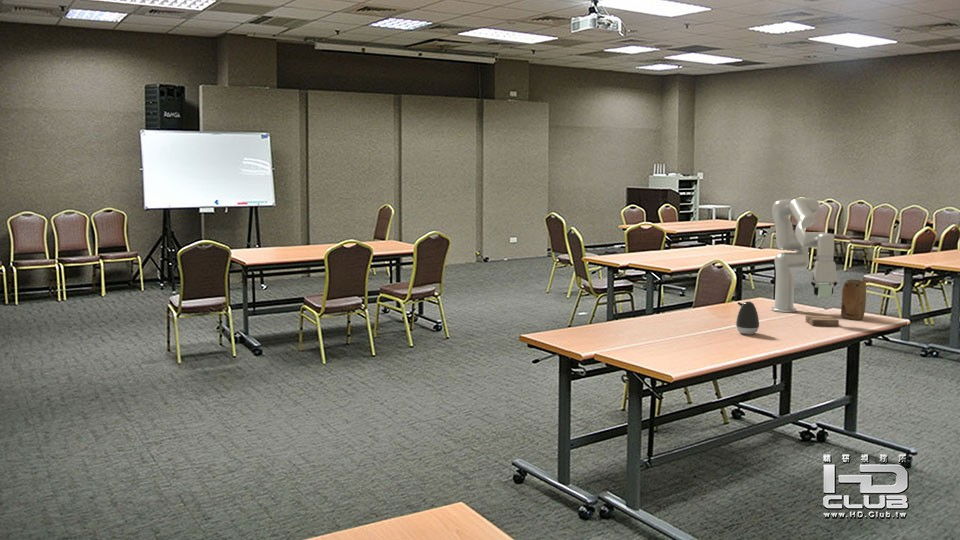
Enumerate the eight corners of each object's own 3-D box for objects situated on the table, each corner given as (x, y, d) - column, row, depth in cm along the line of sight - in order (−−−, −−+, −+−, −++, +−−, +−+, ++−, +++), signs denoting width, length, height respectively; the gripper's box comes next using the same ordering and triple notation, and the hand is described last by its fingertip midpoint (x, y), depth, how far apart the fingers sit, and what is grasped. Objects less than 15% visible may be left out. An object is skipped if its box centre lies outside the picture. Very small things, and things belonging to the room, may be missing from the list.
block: (866, 319, 406) (868, 280, 404) (859, 321, 401) (862, 281, 398) (844, 316, 414) (846, 278, 411) (838, 318, 409) (840, 279, 406)
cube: (814, 295, 395) (815, 283, 394) (827, 295, 394) (828, 283, 394) (818, 297, 389) (819, 285, 388) (831, 297, 389) (832, 285, 388)
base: (805, 321, 400) (805, 315, 400) (830, 321, 399) (830, 315, 399) (812, 326, 388) (813, 319, 388) (838, 326, 387) (838, 320, 387)
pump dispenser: (741, 330, 378) (743, 299, 377) (762, 333, 371) (764, 301, 369) (731, 333, 371) (732, 301, 369) (752, 336, 364) (753, 304, 362)
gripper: (809, 259, 387) (807, 296, 389) (846, 259, 385) (844, 296, 387) (804, 258, 394) (802, 294, 396) (840, 258, 392) (838, 294, 395)
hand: (823, 294), depth 392 cm, fingers closed on cube, 6 cm apart
